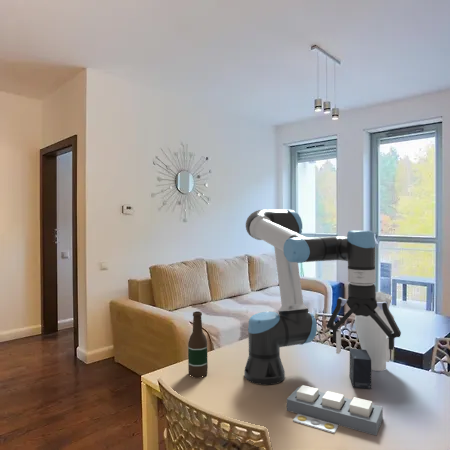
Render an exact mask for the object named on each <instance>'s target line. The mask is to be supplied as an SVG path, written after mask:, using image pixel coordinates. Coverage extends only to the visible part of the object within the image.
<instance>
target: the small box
mask: <svg viewBox="0 0 450 450" xmlns="http://www.w3.org/2000/svg"><path fill="white" fill-rule="evenodd" d="M349 379H350V382H351V384H352V388H357V389H367V390H370V389H371V390H372V370H371V358H370V356H369V354H368V353H367V351H366V350H362V348H360V349H359V348H349Z"/></svg>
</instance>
